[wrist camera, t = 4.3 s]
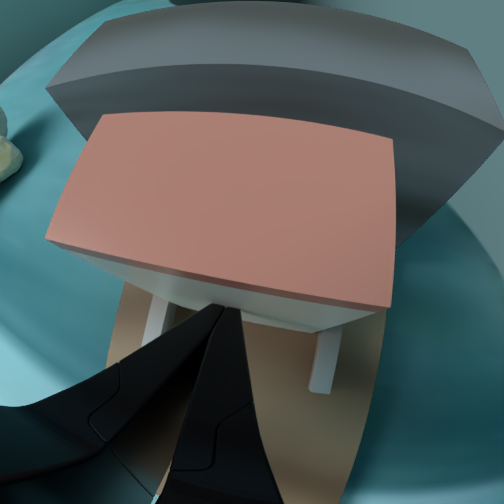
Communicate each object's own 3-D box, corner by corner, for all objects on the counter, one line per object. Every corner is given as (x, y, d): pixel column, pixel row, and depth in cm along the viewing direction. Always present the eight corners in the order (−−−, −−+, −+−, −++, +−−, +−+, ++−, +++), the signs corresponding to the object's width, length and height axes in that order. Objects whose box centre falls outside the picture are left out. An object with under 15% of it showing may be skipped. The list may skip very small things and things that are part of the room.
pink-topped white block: (311, 333, 12) (390, 307, 4) (182, 307, 13) (44, 238, 4) (322, 268, 13) (392, 138, 5) (197, 246, 14) (102, 114, 5)
